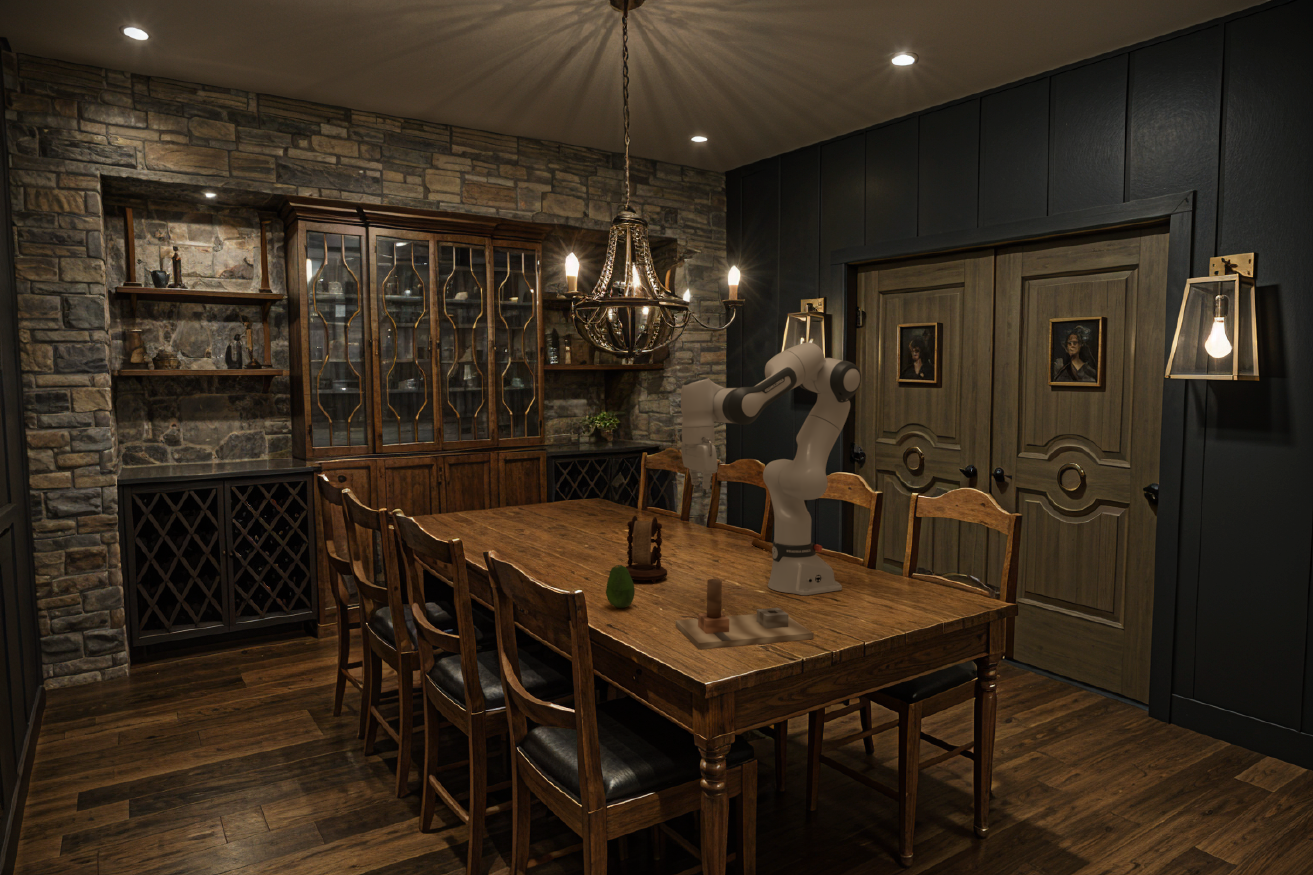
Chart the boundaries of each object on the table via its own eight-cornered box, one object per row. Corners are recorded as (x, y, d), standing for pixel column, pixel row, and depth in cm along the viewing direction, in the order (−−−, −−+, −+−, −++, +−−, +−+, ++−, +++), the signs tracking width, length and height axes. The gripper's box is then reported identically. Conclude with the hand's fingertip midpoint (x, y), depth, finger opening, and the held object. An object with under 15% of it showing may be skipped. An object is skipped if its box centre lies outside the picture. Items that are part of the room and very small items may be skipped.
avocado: (609, 602, 225) (609, 561, 224) (636, 604, 224) (637, 562, 223) (602, 611, 217) (603, 567, 216) (631, 612, 216) (631, 569, 215)
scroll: (614, 582, 248) (614, 518, 246) (629, 571, 262) (630, 511, 260) (659, 586, 243) (660, 521, 242) (672, 575, 258) (673, 514, 256)
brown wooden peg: (717, 625, 201) (718, 578, 200) (723, 629, 197) (724, 582, 197) (704, 626, 200) (705, 579, 199) (709, 630, 196) (710, 583, 196)
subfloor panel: (781, 617, 214) (782, 600, 214) (813, 638, 197) (814, 620, 196) (675, 625, 205) (675, 608, 205) (698, 649, 188) (699, 629, 188)
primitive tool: (792, 556, 288) (792, 546, 288) (780, 558, 286) (780, 548, 285) (757, 546, 305) (758, 537, 304) (746, 548, 302) (746, 539, 301)
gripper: (722, 438, 209) (724, 490, 210) (698, 434, 229) (700, 481, 230) (699, 439, 208) (701, 492, 209) (676, 435, 227) (679, 483, 228)
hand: (700, 486), depth 219 cm, fingers open, 8 cm apart
